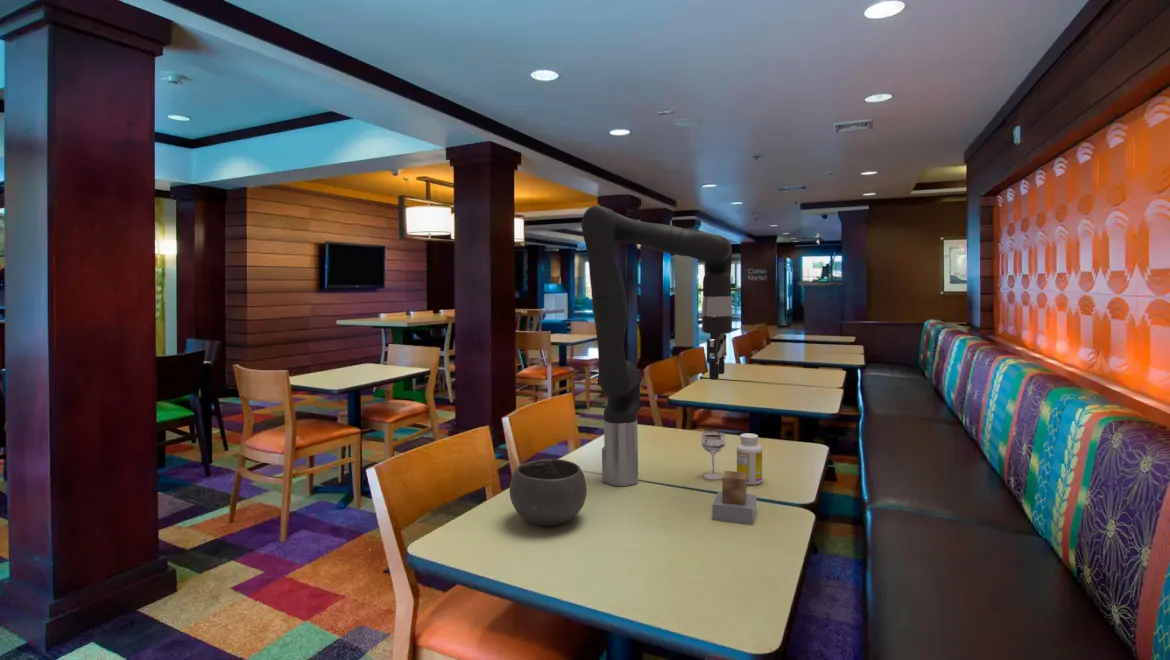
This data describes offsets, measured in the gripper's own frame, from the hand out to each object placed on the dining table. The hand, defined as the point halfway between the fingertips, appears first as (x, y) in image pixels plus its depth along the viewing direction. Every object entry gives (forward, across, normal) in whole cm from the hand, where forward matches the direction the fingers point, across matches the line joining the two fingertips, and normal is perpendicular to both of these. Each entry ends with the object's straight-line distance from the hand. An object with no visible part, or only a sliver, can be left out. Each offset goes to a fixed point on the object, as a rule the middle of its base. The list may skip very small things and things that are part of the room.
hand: (717, 376), depth 154 cm
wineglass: (+30, -10, -3) cm, 32 cm away
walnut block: (+26, +15, +7) cm, 31 cm away
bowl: (+30, +33, -33) cm, 56 cm away
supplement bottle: (+30, -9, +7) cm, 32 cm away
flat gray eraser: (+30, +15, +7) cm, 35 cm away
